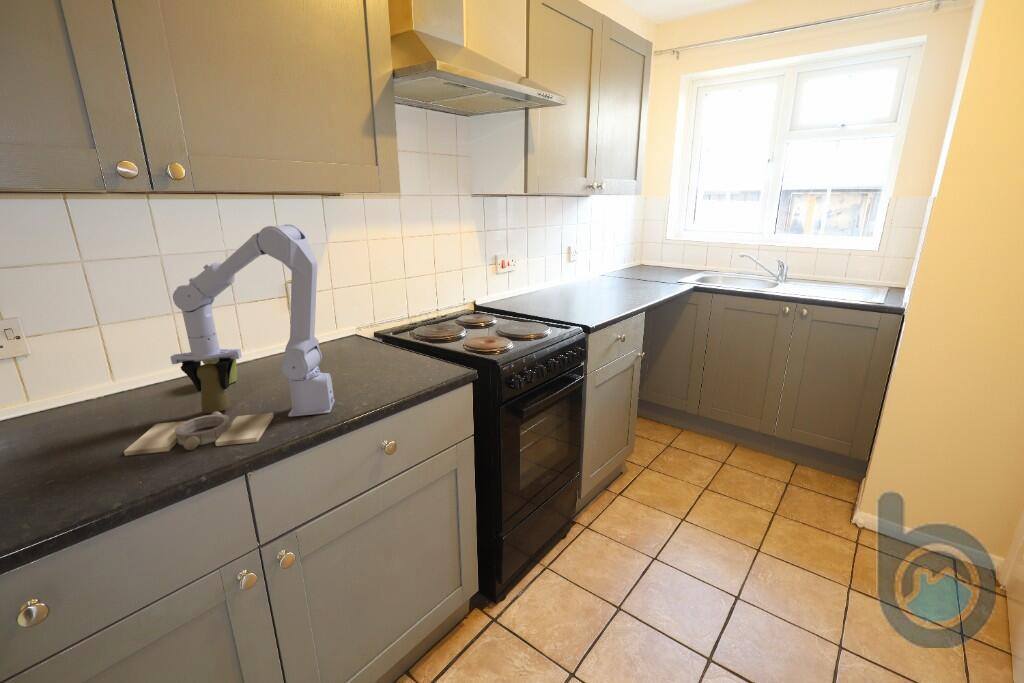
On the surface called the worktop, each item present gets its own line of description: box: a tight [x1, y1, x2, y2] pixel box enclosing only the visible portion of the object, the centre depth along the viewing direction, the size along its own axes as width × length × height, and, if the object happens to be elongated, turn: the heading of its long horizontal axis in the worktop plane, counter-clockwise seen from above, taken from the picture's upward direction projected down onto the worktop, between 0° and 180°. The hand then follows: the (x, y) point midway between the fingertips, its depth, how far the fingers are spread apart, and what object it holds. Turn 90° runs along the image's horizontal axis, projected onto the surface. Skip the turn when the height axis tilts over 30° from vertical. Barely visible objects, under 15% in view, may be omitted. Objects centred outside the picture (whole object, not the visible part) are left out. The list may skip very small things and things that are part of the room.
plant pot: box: [202, 359, 238, 385], centre depth 136 cm, size 9×9×9 cm
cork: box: [196, 363, 231, 413], centre depth 115 cm, size 6×6×11 cm
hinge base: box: [123, 411, 275, 457], centre depth 105 cm, size 25×14×2 cm, turn 101°
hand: (213, 388), depth 116 cm, fingers closed on cork, 5 cm apart
